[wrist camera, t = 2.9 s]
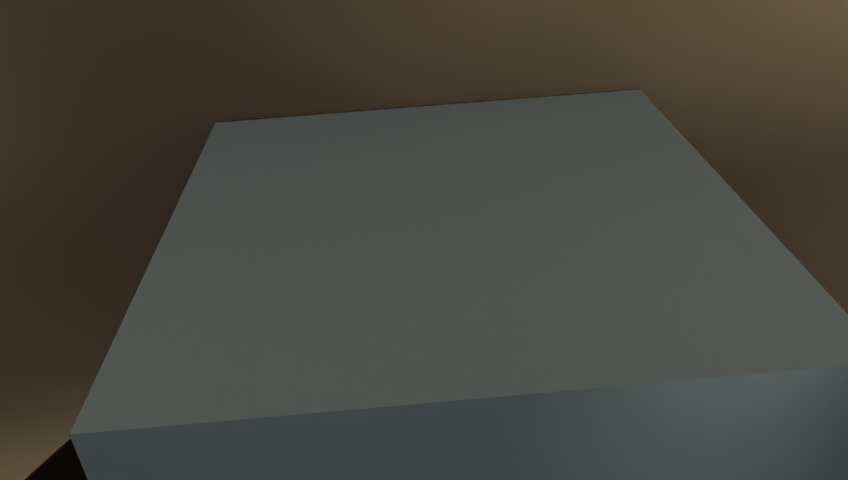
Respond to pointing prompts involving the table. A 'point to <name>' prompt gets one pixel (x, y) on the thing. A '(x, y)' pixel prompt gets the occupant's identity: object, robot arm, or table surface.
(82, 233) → the table surface
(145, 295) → the cube
